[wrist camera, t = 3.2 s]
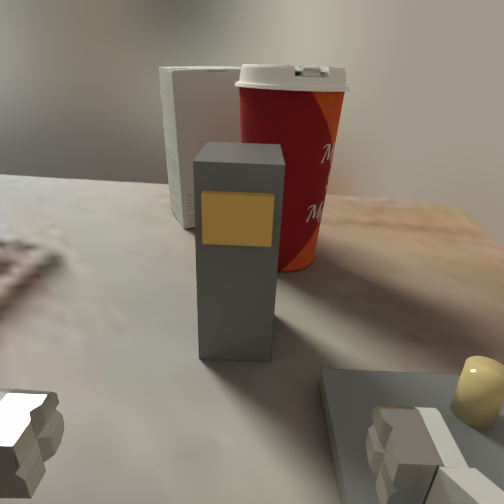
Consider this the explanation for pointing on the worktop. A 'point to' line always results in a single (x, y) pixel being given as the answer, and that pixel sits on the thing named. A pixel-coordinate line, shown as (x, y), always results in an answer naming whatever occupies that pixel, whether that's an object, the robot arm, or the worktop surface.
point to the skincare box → (195, 124)
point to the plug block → (237, 247)
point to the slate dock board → (414, 395)
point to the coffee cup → (295, 143)
